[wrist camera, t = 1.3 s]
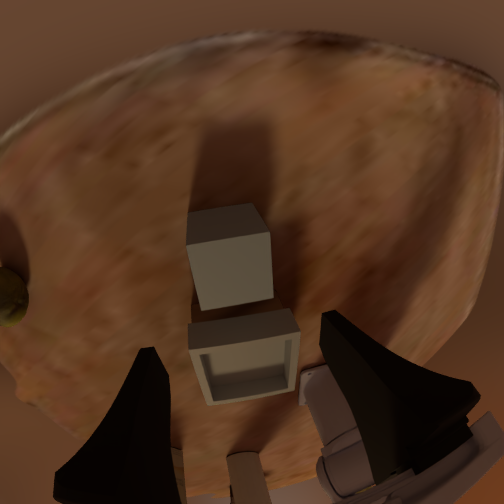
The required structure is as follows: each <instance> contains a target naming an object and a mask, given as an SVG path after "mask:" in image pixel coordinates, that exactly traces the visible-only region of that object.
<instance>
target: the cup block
mask: <svg viewBox="0 0 504 504" xmlns="http://www.w3.org/2000/svg"><path fill="white" fill-rule="evenodd" d="M300 334H301V331H300V329H299V327H298V324H297V322H296V320H295V318H294V316H293V314H292V312H291V310H290V308H286V309H281V310H275V311H270V312H264V313H258V314H252V315H246V316H240V317H233V318H227V319H220V320H213V321H206V322H199V323H191V324H188V347H189V353H190V356H191V359H192V362H193V365H194V368H195V371H196V374H197V377H198V380H199V383H200V386H201V389H202V392H203V394H204V397H205V400H206V403H207V405H208V406H211V405H218V404H226V403H232V402H239V401H245V400H250V399H256V398H261V397H266V396H271V395H276V394H281V393H285V392H289V391H294V390H295V381H296V373H297V364H298V354H299V344H300Z"/></svg>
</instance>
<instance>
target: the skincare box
mask: <svg viewBox="0 0 504 504" xmlns="http://www.w3.org/2000/svg"><path fill="white" fill-rule="evenodd" d="M171 453H172V460H173V466H174V472H175V477H176V482H177V487H178V491H179V495H180V499H181V502H182V504H187V500H186V489H185V478H184V464H183V451H181V450H178V449H175V448H172V447H171Z"/></svg>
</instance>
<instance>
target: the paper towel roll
mask: <svg viewBox="0 0 504 504" xmlns="http://www.w3.org/2000/svg"><path fill="white" fill-rule="evenodd" d="M226 460H227V466H228V471H229V476H230V481H231V486H232V491H233V496H234V501H235V504H272V503H271V499H270V496H269V492H268V488H267V484H266V481H265V477H264V473H263V469H262V465H261V462H260V458H259V455H258V454H257V453H255V452H242V453H237V454H233V455H230V456H228V457H227V458H226Z"/></svg>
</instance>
